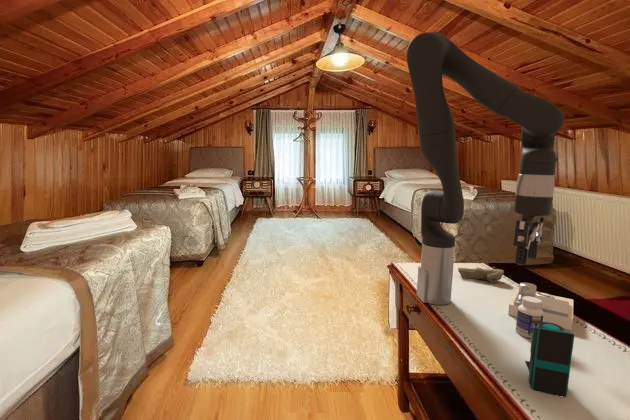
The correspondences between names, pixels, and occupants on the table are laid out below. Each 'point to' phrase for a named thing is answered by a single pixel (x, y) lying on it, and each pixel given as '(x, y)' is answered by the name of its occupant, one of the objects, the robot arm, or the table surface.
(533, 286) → the cylinder
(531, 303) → the pill bottle
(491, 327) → the table surface
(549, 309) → the scale pan
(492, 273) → the sculpture
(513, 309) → the scale housing
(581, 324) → the table surface
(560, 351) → the dark boxy piece
